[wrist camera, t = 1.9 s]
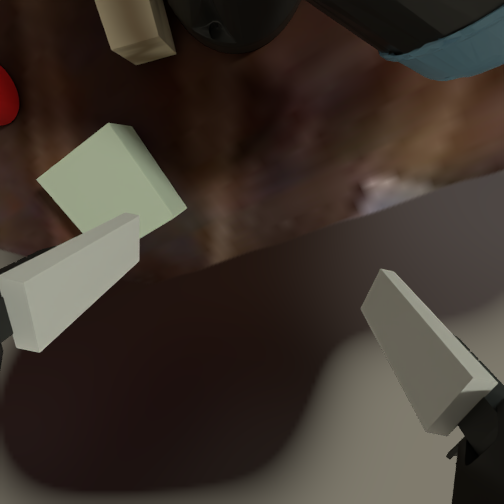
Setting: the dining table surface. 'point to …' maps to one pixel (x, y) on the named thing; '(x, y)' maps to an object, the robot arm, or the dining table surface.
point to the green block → (112, 182)
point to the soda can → (7, 98)
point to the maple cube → (137, 29)
